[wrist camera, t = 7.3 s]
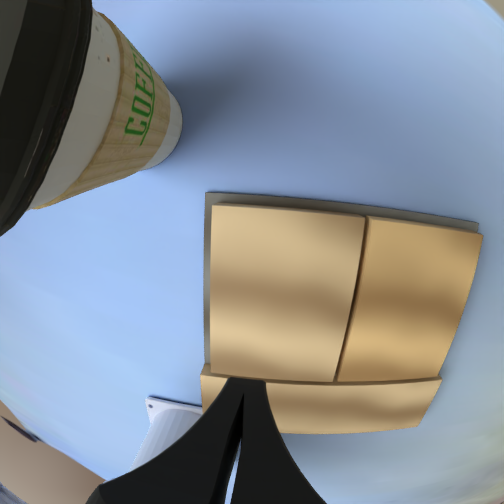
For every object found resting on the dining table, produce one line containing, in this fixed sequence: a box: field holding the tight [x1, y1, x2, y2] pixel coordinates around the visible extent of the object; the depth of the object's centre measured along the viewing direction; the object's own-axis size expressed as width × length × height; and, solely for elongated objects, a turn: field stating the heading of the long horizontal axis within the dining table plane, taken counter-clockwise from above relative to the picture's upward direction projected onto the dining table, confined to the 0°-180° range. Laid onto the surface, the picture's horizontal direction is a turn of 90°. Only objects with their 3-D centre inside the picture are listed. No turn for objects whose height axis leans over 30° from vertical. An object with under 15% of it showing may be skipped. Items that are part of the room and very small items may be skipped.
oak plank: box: [335, 216, 483, 382], centre depth 18 cm, size 12×9×1 cm
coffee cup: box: [0, 0, 183, 237], centre depth 11 cm, size 10×10×15 cm
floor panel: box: [200, 192, 479, 434], centre depth 20 cm, size 19×20×2 cm
